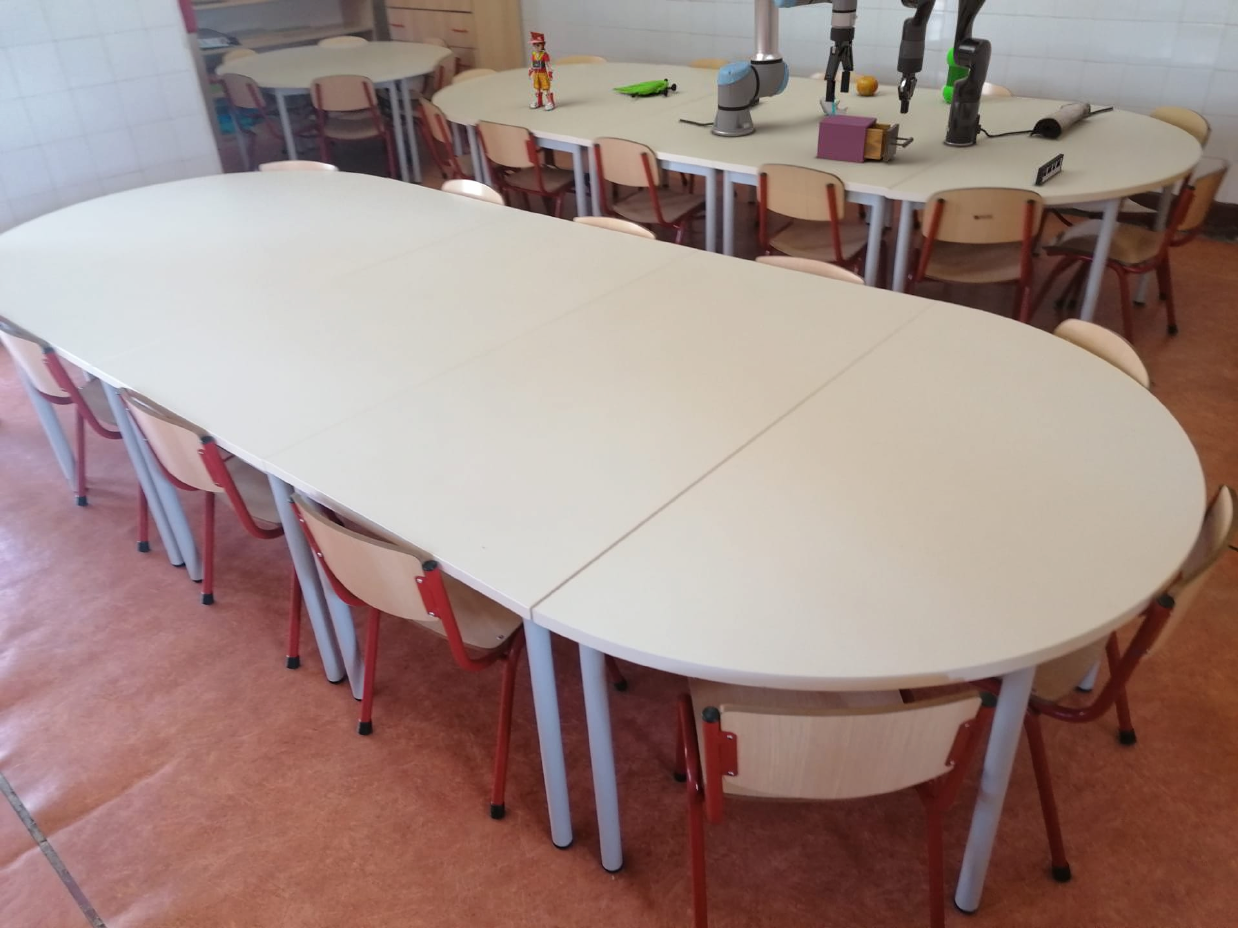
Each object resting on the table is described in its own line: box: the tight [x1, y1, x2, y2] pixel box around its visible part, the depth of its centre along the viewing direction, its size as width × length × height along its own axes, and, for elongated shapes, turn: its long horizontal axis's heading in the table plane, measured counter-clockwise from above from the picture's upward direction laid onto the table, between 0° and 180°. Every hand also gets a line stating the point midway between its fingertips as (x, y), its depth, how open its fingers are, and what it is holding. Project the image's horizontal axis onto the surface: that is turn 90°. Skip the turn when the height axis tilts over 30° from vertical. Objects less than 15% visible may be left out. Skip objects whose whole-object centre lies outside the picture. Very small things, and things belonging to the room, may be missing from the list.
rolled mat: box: [1029, 101, 1092, 140], centre depth 316 cm, size 30×9×10 cm
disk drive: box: [749, 98, 761, 108], centre depth 367 cm, size 10×3×15 cm
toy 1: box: [527, 31, 556, 111], centre depth 374 cm, size 12×9×30 cm
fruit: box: [856, 75, 879, 96], centre depth 370 cm, size 8×8×8 cm
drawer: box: [864, 122, 915, 163], centre depth 296 cm, size 20×10×10 cm, turn 58°
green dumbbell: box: [942, 45, 970, 104], centre depth 348 cm, size 10×10×25 cm
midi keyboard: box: [1035, 153, 1065, 186], centre depth 273 cm, size 18×1×5 cm, turn 138°
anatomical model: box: [819, 96, 850, 116], centre depth 341 cm, size 15×10×10 cm
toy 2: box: [612, 78, 677, 99], centre depth 396 cm, size 28×5×30 cm
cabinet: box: [816, 114, 878, 164], centre depth 301 cm, size 16×11×12 cm
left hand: (837, 97), depth 296 cm, fingers open, 13 cm apart
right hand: (903, 113), depth 287 cm, fingers closed
